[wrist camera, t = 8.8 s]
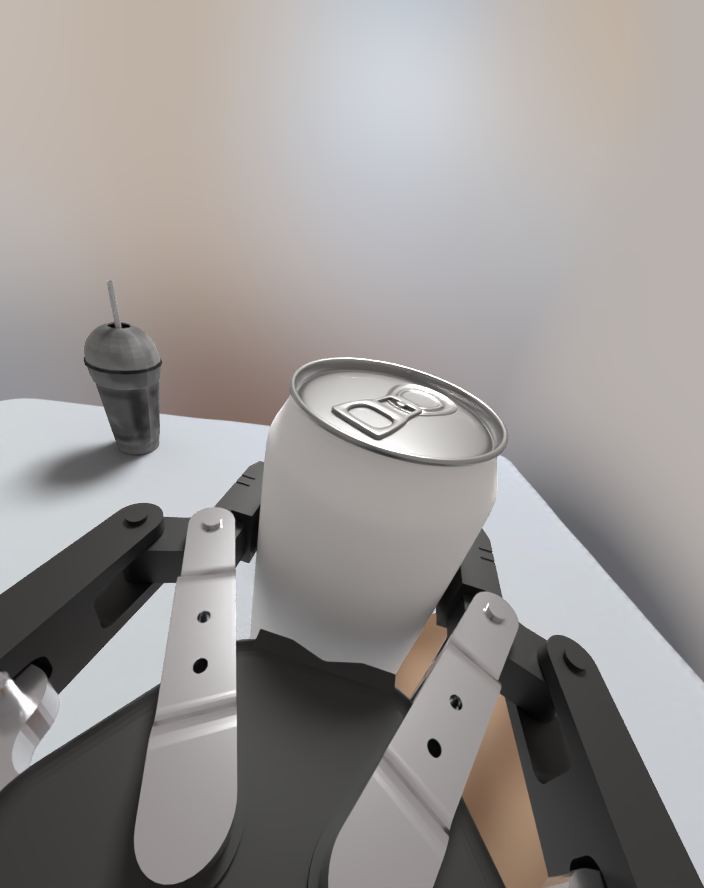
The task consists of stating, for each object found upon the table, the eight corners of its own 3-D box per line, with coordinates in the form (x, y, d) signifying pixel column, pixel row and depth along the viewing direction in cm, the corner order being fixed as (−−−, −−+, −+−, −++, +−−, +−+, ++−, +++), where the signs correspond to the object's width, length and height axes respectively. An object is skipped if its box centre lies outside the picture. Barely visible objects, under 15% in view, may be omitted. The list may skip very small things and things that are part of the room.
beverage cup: (169, 427, 47) (152, 276, 36) (173, 457, 42) (155, 291, 31) (106, 432, 43) (67, 265, 33) (103, 465, 38) (56, 281, 28)
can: (420, 642, 15) (554, 423, 9) (322, 782, 11) (459, 532, 5) (325, 554, 18) (376, 345, 12) (218, 633, 14) (213, 364, 8)
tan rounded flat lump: (311, 697, 24) (322, 666, 21) (462, 615, 32) (484, 585, 29) (467, 1142, 13) (531, 1193, 10) (638, 846, 21) (698, 831, 18)
